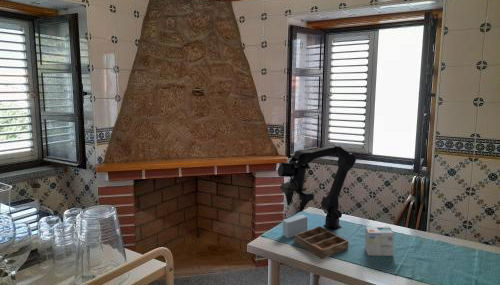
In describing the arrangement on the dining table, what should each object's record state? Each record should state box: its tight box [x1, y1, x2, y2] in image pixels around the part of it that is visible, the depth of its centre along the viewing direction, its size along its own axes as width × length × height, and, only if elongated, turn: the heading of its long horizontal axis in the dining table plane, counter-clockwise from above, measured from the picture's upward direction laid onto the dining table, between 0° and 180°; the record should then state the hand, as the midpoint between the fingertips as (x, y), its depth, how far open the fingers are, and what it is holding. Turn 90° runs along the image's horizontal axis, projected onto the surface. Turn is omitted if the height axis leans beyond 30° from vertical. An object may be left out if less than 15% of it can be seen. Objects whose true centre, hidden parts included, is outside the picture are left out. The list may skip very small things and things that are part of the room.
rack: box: [294, 226, 349, 259], centre depth 162 cm, size 16×19×4 cm
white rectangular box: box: [282, 213, 308, 239], centre depth 175 cm, size 12×4×8 cm, turn 121°
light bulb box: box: [364, 225, 395, 257], centre depth 154 cm, size 11×7×11 cm, turn 84°
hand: (294, 208), depth 172 cm, fingers open, 9 cm apart
